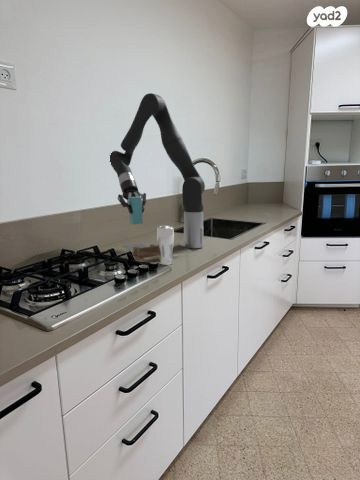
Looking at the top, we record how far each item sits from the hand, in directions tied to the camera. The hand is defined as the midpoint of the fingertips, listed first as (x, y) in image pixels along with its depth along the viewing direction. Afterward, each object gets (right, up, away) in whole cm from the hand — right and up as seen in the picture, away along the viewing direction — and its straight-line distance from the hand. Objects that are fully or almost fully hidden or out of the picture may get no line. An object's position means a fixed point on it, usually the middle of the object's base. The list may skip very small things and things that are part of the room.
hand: (137, 212), depth 157 cm
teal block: (-1, -5, +3) cm, 6 cm away
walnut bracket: (+5, -20, -6) cm, 21 cm away
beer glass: (+14, -22, -16) cm, 31 cm away
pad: (-2, -17, +7) cm, 18 cm away
